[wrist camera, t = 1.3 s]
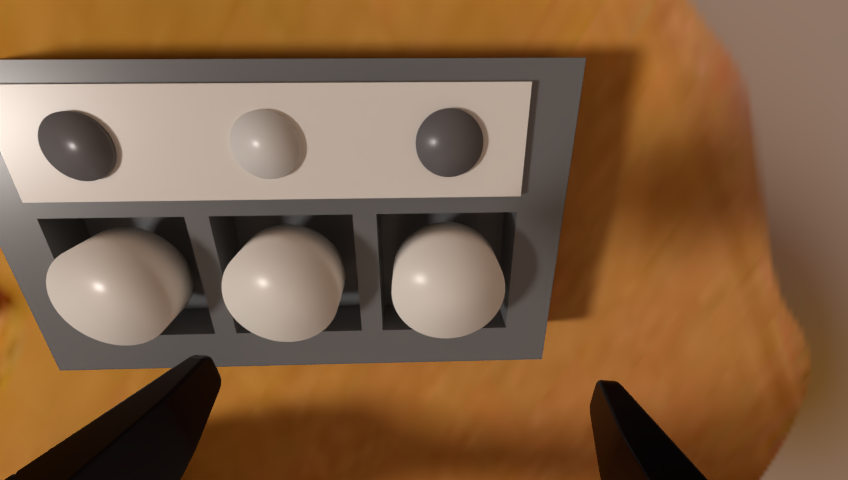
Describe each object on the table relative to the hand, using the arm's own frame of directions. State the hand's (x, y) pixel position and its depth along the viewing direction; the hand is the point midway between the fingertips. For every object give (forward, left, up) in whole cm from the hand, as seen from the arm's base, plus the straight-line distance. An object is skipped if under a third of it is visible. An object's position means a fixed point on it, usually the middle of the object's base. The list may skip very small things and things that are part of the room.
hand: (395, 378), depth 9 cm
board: (0, +5, -12) cm, 13 cm away
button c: (-2, +12, -9) cm, 15 cm away
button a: (-2, -2, -9) cm, 10 cm away
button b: (-2, +5, -9) cm, 11 cm away
